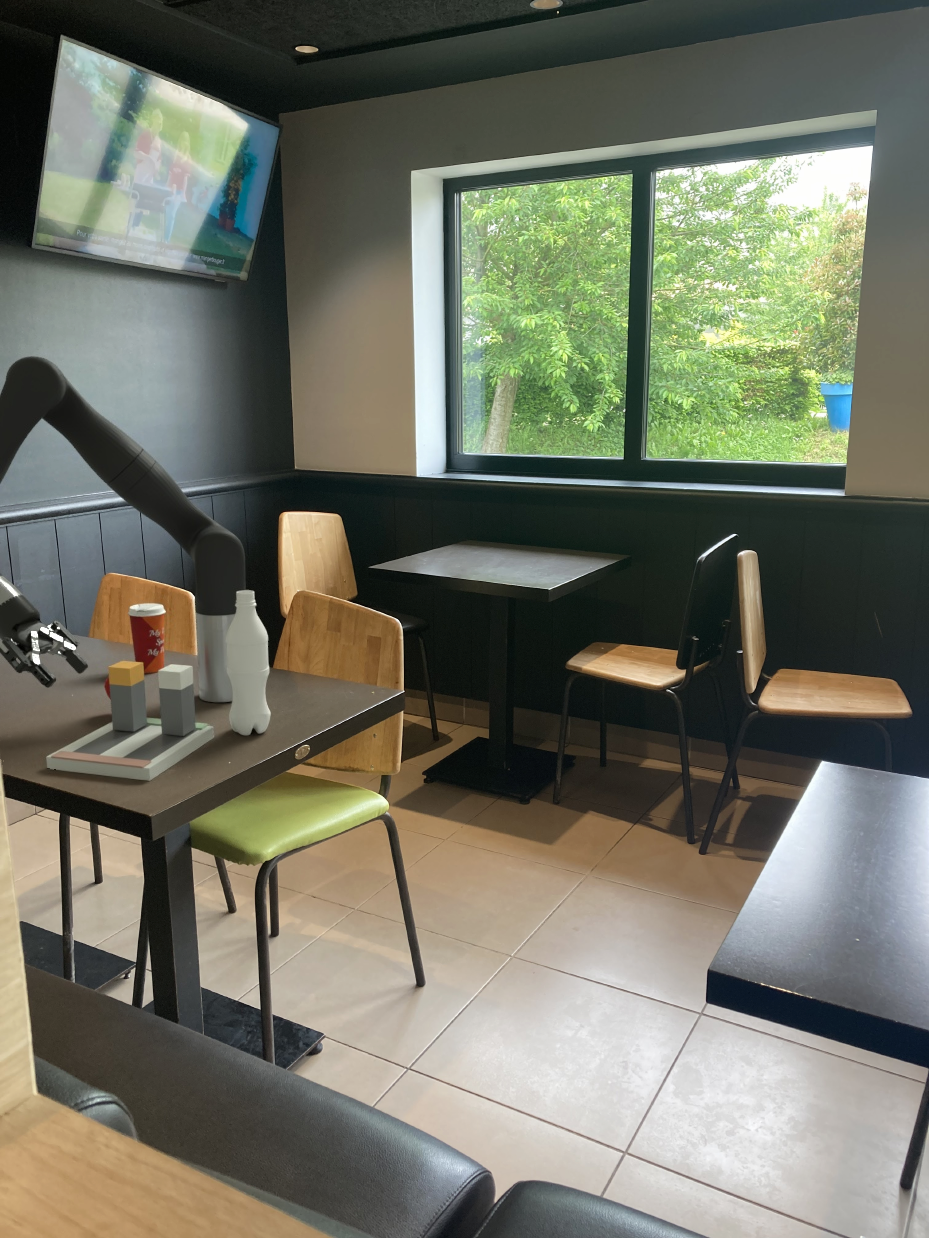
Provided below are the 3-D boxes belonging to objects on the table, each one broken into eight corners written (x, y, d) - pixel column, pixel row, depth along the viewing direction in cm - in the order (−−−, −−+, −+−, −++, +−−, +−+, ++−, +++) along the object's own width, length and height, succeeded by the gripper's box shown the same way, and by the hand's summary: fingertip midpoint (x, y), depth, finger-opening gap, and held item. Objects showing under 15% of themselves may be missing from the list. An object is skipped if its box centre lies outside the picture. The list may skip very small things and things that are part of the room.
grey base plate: (122, 727, 165) (117, 654, 162) (214, 736, 161) (211, 662, 158) (46, 769, 146) (39, 687, 143) (149, 781, 142) (143, 697, 139)
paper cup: (162, 675, 198) (158, 610, 195) (126, 674, 198) (121, 609, 195) (173, 665, 205) (170, 602, 202) (139, 664, 205) (135, 602, 202)
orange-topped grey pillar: (126, 722, 161) (122, 660, 159) (147, 724, 160) (143, 662, 158) (112, 729, 158) (108, 666, 155) (133, 731, 157) (129, 668, 154)
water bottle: (235, 740, 160) (229, 597, 155) (225, 727, 166) (219, 589, 161) (276, 733, 163) (271, 594, 158) (264, 721, 169) (260, 586, 164)
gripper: (-15, 602, 152) (53, 674, 152) (43, 586, 166) (106, 652, 166) (-38, 632, 155) (29, 703, 155) (21, 613, 168) (82, 679, 168)
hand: (68, 677), depth 160 cm, fingers open, 8 cm apart
